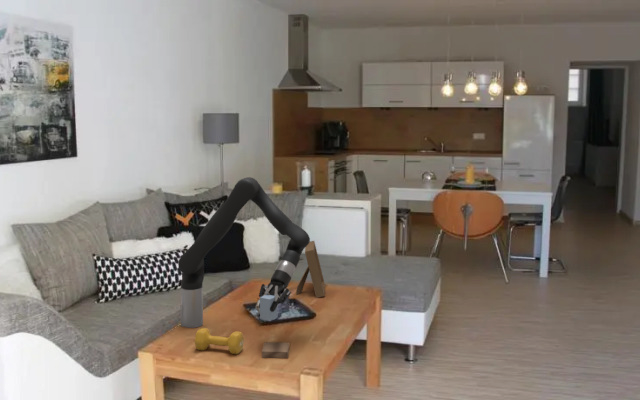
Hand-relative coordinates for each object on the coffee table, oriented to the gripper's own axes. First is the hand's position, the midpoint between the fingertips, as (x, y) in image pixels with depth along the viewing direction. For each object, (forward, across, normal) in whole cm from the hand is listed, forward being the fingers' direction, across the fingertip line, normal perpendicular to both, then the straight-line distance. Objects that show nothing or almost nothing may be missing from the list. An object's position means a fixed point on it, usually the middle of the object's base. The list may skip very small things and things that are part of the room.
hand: (265, 309), depth 267 cm
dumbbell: (+20, -15, +3) cm, 25 cm away
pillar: (+2, 0, +4) cm, 5 cm away
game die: (-12, -28, +35) cm, 47 cm away
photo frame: (-42, -31, +67) cm, 85 cm away
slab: (+13, +6, +11) cm, 18 cm away
